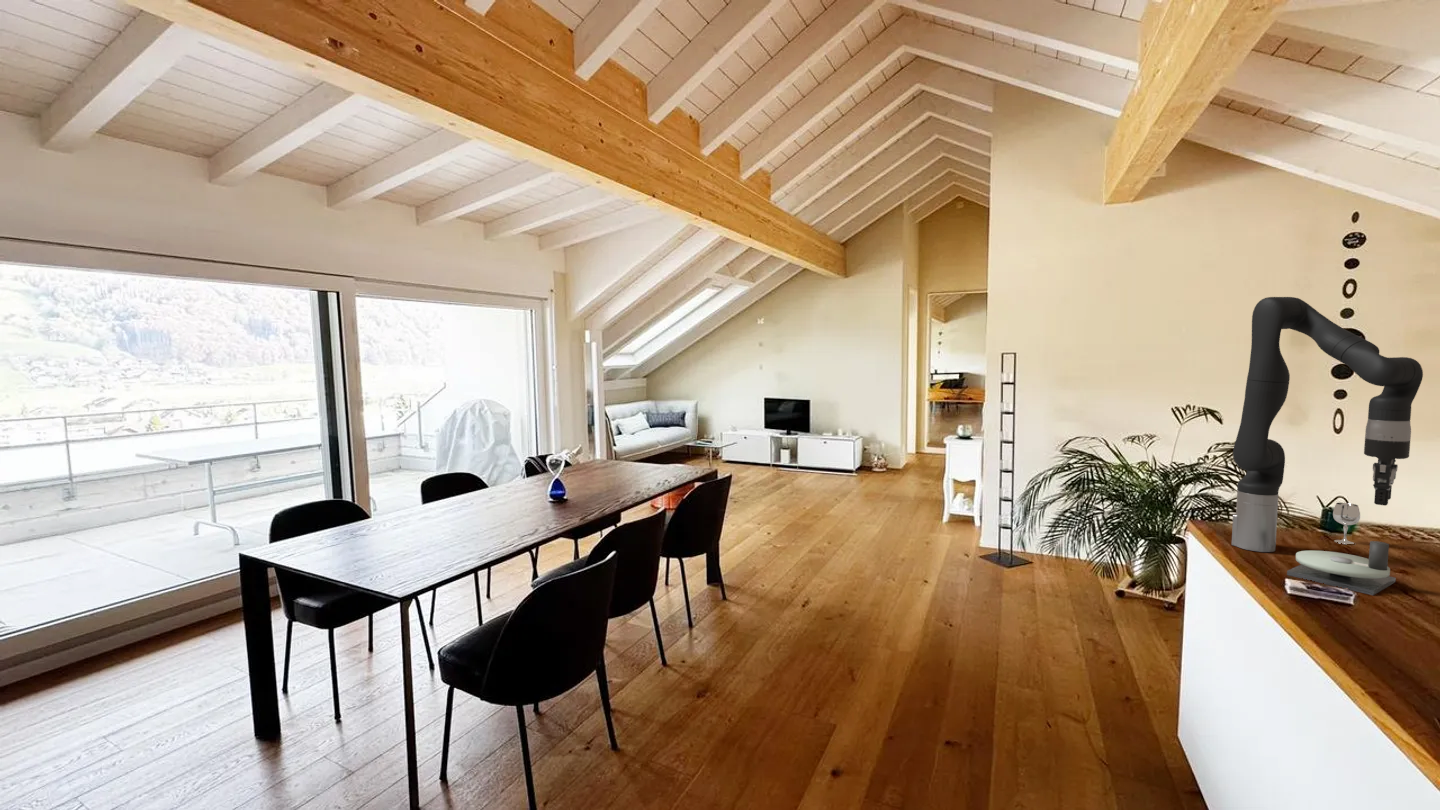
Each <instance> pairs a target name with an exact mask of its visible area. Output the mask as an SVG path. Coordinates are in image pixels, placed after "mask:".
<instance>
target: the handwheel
mask: <svg viewBox="0 0 1440 810" xmlns="http://www.w3.org/2000/svg"><path fill="white" fill-rule="evenodd" d="M1389 549H1390V543H1388V542H1383V541H1380V540H1379V541H1377V540H1376V541H1375V540H1369V554H1368V558H1367V557H1362V556H1359V555H1354V554H1350V553H1349V554H1348V553H1343V552H1337V551H1328V550H1325V551H1324V550H1301V551H1297V552H1296V553H1295V561H1296V562H1297V563H1298V564H1299V565H1301V564H1302V565H1304V566H1307V567H1310V568H1313V569H1316V570H1320V571H1324V572H1328V573H1332V574H1338V575H1343V576H1350V577H1358V578H1385V577H1388V576H1390V575H1391V568H1390V567H1389V566H1388V565H1389V561H1388V560H1389V553H1390V552H1389V551H1390V550H1389Z"/></svg>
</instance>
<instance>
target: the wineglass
mask: <svg viewBox="0 0 1440 810" xmlns="http://www.w3.org/2000/svg"><path fill="white" fill-rule="evenodd" d="M1332 516H1333V519H1334V521H1336V522H1337V523H1339V524H1341V525H1343V529H1342V530H1343V538H1342V539H1335V540H1334V543H1337V542H1338V543H1337V544H1341V543H1342V544H1341V545H1347V544H1354V543H1355V542H1353V541H1350V540H1348V539H1347V532H1348V530H1349V527H1348V526H1352V525H1356V524H1358V523H1359V522H1360V520H1361V511H1360V507H1359V505H1358V504H1356V503H1355V504H1354V503H1349V502H1336V503H1335V505H1334V508H1333V512H1332Z"/></svg>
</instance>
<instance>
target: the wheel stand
mask: <svg viewBox="0 0 1440 810" xmlns="http://www.w3.org/2000/svg"><path fill="white" fill-rule="evenodd" d="M1286 576H1289V577H1294V578H1298V579H1302V578H1303V579H1304V580H1306V579H1307V581H1310V580H1312V581H1311V582H1314V581H1315V582H1314V583H1320V584H1323V583H1324V585H1327V586H1333V587H1336V586H1338V587H1337V588H1340V587H1342V588H1341V589H1344V588H1348V589H1350V590H1349V591H1351V592H1352V591H1353V592H1357V593H1360V594H1361V593H1362V594H1365V595H1370V596H1375V595H1376V594H1378V593H1380V592H1382V591H1383V590H1385V589H1386V588H1388V587H1390V586H1391V585H1393V584H1395V583H1396V577H1394V576H1390V575H1389V576H1388V577H1385V578H1358V577H1350V576H1343V575H1338V574H1332V573H1328V572H1324V571H1320V570H1316V569H1313V568H1310V567H1307V566H1304V565H1302V564H1299V565H1297V566H1294V567H1292V568H1290V569H1288V570H1286ZM1348 589H1347V590H1348Z"/></svg>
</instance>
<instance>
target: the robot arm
mask: <svg viewBox="0 0 1440 810" xmlns="http://www.w3.org/2000/svg"><path fill="white" fill-rule="evenodd" d="M1288 329H1290V330H1293V331H1296V332H1299V333H1302V334H1304V335H1306V336H1308V337H1309V338H1311V339H1312V340H1313V341H1314V342H1315V343H1316V345H1317V346H1318V347H1319V348H1320V350H1322V351H1323V352H1324V353H1325V354H1326V355H1328V356H1329V357H1331V358H1333V359H1335V360H1336V361H1338V362H1340V363H1342V364H1344V365H1346V366H1348V367H1349V368H1350V369H1351V371H1353V372H1354V373H1355V374H1356V375H1357V376H1358V378H1360V379H1362V380H1363V381H1365V382H1367V383H1369V384H1371V385H1374V386H1376V387H1377V386H1378V387H1383V388H1382V391H1381V393H1380V394H1379V395H1378V394H1377V395H1376V396H1374V397H1371V398H1370V400H1369V403H1368V409H1367V410H1368V411H1367V412H1368V414H1367V422H1366V426H1365V435H1364V446H1363V448H1364V449H1363V455H1365V456H1366V457H1367V456H1368V457H1372V458H1377V462H1374V463H1372V471H1373V472H1372V481H1373V484H1372V486H1373V488H1374V502H1373V503H1374V504H1375V505H1379V506H1388V505H1389V500H1391V497H1392V486H1394V485H1393V484H1394V481H1395V479H1396V477H1397V472H1398V468H1399V467H1398V465H1399V464H1398V463H1397V464H1395V463H1396V461H1397V460H1404V459H1405V460H1406V459H1408V458H1409V457H1410V449H1411V437H1412V426H1411V416H1412V403H1413V401H1414V400H1415V398H1416V396H1417V393H1418V391H1419V389H1420V387H1421V383H1422V381H1423V377H1424V371H1423V368H1422V365H1421V364H1420V363H1419V361H1418V360H1416V359H1414V358H1412V357H1408V356H1407V357H1405V356H1401V357H1399V356H1398V357H1386V356H1384V355H1382V354H1380V348H1379V347H1378V346H1377V345H1376V344H1374V343H1373V342H1370V341H1369V340H1367V339H1365V338H1363V337H1361V336H1359V335H1357V334H1355V333H1353V332H1351V331H1349V330H1347V329H1345V328H1343V326H1341V325H1339V324H1337V323H1335V322H1334V321H1331V320H1330V319H1329V318H1327V317H1326V316H1324V315H1323V314H1322V313H1320V312H1319V311H1318V310H1316V308H1314V307H1313V306H1311V305H1310V304H1309V303H1308V302H1306V301H1304V300H1303V299H1301V298H1298V297H1293V296H1270V297H1269V296H1268V297H1264V298H1262V299H1261V300H1259V301H1258V302H1257V303H1256V304H1255V306H1254V308H1253V312H1252V316H1251V349H1250V356H1249V366H1248V371H1247V376H1246V385H1245V391H1244V401H1243V407H1242V413H1241V420H1240V425H1239V429H1238V432H1237V435H1236V439H1235V442H1234V445H1233V450H1232V457H1233V460H1234V463H1235V464H1236V466H1238V467H1239V468H1240V469H1241V470H1243V471H1246V473H1245V475H1244V476H1243V477H1242V478H1241V479H1239V480H1238V481H1237V491H1236V510H1235V511H1236V513H1234V514H1233V515H1232V526H1231V529H1232V531H1231V532H1232V533H1231V546H1235V547H1237V548H1240V549H1243V550H1247V551H1251V552H1252V551H1253V552H1260V553H1273V552H1275V551H1276V545H1277V528H1278V526H1277V525H1278V509H1279V491H1280V487H1281V486H1282V485H1283V482H1284V481H1283V480H1284V474H1285V466H1286V465H1285V464H1286V463H1285V462H1286V455H1285V450H1284V448H1283V446H1282V445H1281V444H1280V443H1279V442H1277V441H1276V440H1274V439H1269V435H1270V434H1269V433H1270V428H1271V425H1272V423H1273V421H1274V420H1275V418H1276V417H1277V416H1278V413H1279V412H1280V411H1281V409H1282V407H1283V406H1284V404H1285V402H1286V400H1287V395H1288V393H1289V385H1290V379H1291V377H1290V371H1289V368H1288V365H1287V363H1286V361H1285V359H1284V357H1283V355H1282V352H1281V348H1280V347H1281V346H1280V339H1281V332H1282V330H1288Z"/></svg>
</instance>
